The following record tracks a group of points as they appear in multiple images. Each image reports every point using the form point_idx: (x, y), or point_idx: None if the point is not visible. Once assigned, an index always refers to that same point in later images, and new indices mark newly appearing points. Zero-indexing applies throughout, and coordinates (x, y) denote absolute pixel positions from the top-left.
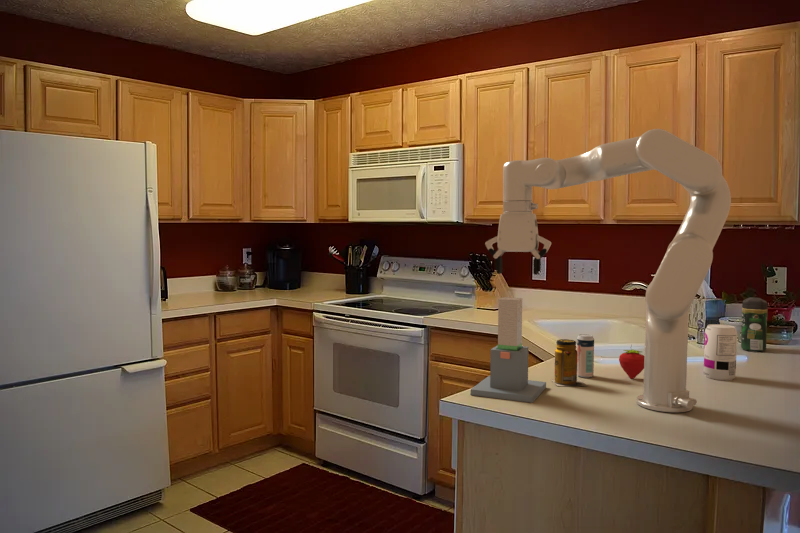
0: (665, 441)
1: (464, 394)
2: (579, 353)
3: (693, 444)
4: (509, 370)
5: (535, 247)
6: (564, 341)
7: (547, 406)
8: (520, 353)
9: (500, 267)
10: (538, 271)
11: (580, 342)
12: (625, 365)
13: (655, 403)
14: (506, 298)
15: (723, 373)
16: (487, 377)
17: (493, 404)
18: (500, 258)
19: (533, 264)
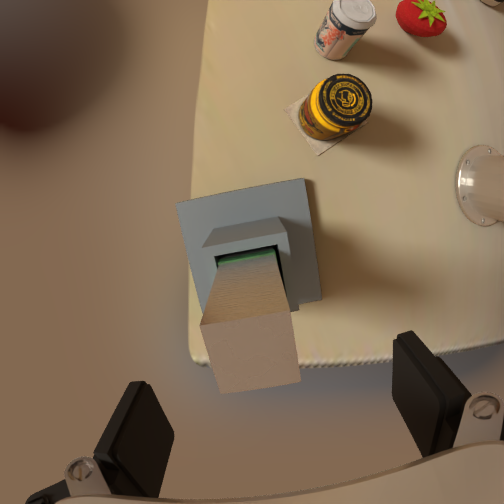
0: (481, 333)
1: (194, 317)
2: (337, 39)
3: (499, 323)
4: None
5: (498, 456)
6: (346, 108)
7: (347, 298)
8: (297, 309)
9: (159, 446)
10: (415, 335)
11: (347, 29)
12: (412, 32)
13: (482, 215)
14: (234, 359)
15: (496, 3)
16: (180, 219)
17: None
18: (128, 481)
19: (413, 437)
